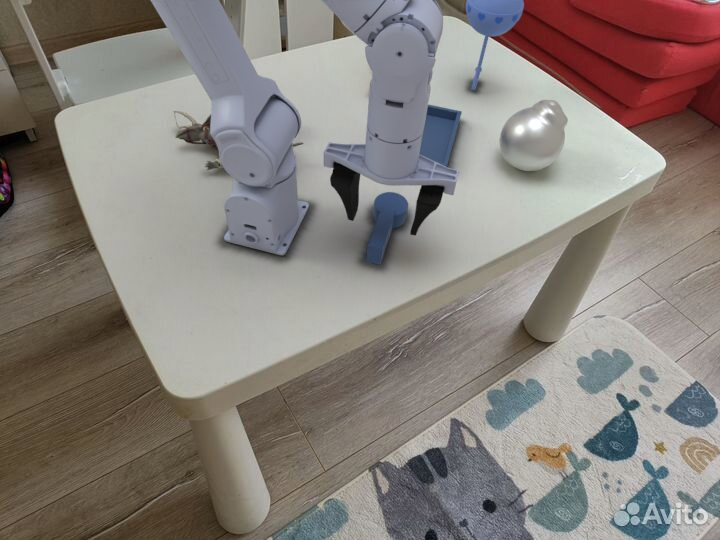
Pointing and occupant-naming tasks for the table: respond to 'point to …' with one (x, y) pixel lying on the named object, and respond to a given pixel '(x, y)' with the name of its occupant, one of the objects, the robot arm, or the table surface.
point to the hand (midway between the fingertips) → (383, 222)
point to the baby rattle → (492, 21)
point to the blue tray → (439, 133)
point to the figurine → (201, 136)
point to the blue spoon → (385, 223)
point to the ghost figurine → (534, 136)
